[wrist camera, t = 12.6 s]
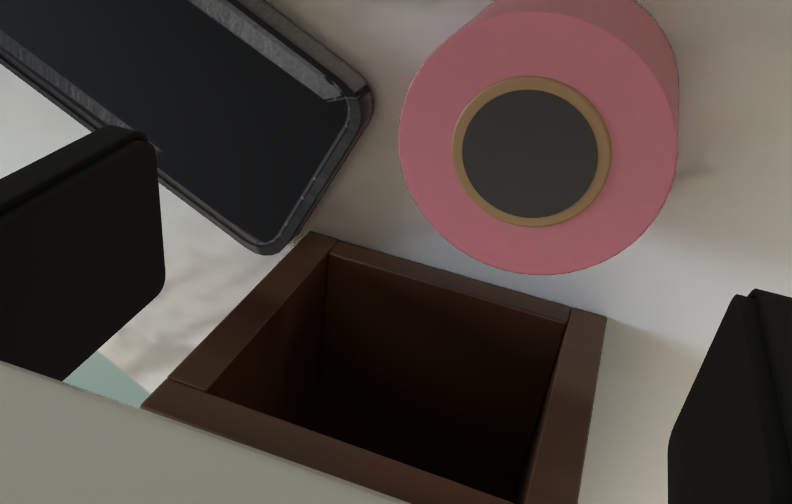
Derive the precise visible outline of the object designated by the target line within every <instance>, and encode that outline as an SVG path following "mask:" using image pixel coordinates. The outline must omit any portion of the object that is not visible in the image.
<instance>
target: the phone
mask: <svg viewBox="0 0 792 504" xmlns="http://www.w3.org/2000/svg"><path fill="white" fill-rule="evenodd" d="M0 64H2V65H3V66H4V67H6V68H7V69H8V70H10V71H11V72H12V73H14V74H15V75H16V76H18V77H19V78H20V79H22V80H23V81H24V82H26V83H27V84H28V85H30V86H31V87H32V88H34V89H35V90H36V91H38V92H39V93H40V94H42V95H43V96H44V97H46V98H47V99H48V100H50V101H51V102H52V103H54V104H55V105H56V106H58V107H59V108H60V109H62V110H63V111H64V112H66V113H67V114H68V115H70V116H71V117H72V118H74V119H75V120H76V121H78V122H79V123H80V124H82V125H83V126H84V127H86V128H87V129H88V130H90V131H91V132H94V131H96V130H98V129H100V128H102V127H104V126H107V125H115V126H119V127H123V128H127V129H131V130H135V131H139V132H142V133H143V134H145V135H146V137H147V139H148V141H149V143H151V144H152V145H153V146H154V148H155V151H156V159H157V172H158V182H159V183H160V184H162V185H163V186H164V187H166V188H167V189H168V190H170V191H171V192H172V193H174V194H175V195H176V196H178V197H179V198H180V199H182V200H183V201H184V202H186V203H187V204H188V205H190V206H191V207H192V208H194V209H195V210H196V211H198V212H199V213H200V214H202V215H203V216H204V217H206V218H207V219H208V220H210V221H211V222H212V223H214V224H215V225H216V226H218V227H219V228H220V229H222V230H223V231H224V232H226V233H227V234H228V235H230V236H231V237H232V238H234V239H235V240H236V241H238V242H239V243H240V244H242V245H243V246H244V247H246V248H247V249H249V250H250V251H252V252H254V253H256V254H260V255H274V254H276V253H279V252H280V251H281V250H282V249H283V248H284V247H285V246H286V245H287V244H288V243H289V242H290V241H291V240H292V239H293V238H294V237H295V236H296V235H297V234H298V233H299V232H300V230H301V228H302V227H303V225H304V224H305V222H306V221H307V219H308V217H309V216H310V214H311V213H312V211H313V210H314V208H315V206H316V205H317V203H318V202H319V200H320V199H321V197H322V195H323V194H324V192H325V191H326V189H327V188H328V186H329V184H330V183H331V181H332V180H333V178H334V177H335V175H336V173H337V172H338V170H339V169H340V167H341V166H342V164H343V162H344V161H345V159H346V158H347V156H348V155H349V153H350V151H351V150H352V148H353V147H354V145H355V144H356V142H357V140H358V139H359V137H360V136H361V134H362V133H363V131H364V129H365V128H366V126H367V125H368V123H369V121H370V119H371V116H372V114H373V104H374V102H373V97H372V93H371V90H370V88H369V86H368V85H367V83H366V81H365V80H364V79H363V78H362V77H361V76H360V75H359V74H358V73H357V72H356V71H355V70H353V69H352V68H351V67H349V66H348V65H347V64H345V63H344V62H343V61H341V60H340V59H339V58H337V57H336V56H335V55H334V54H332V53H331V52H330V51H328V50H327V49H326V48H324V47H323V46H322V45H320V44H319V43H318V42H316V41H315V40H314V39H312V38H311V37H310V36H309V35H307V34H306V33H305V32H303V31H302V30H301V29H299V28H298V27H297V26H295V25H294V24H293V23H291V22H290V21H289V20H287V19H286V18H285V17H283V16H282V15H281V14H280V13H278V12H277V11H276V10H274V9H273V8H272V7H270V6H269V5H268V4H266V3H265V2H264V1H262V0H0Z"/></svg>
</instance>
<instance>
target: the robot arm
mask: <svg viewBox="0 0 792 504" xmlns="http://www.w3.org/2000/svg"><path fill="white" fill-rule="evenodd" d="M164 282H165V262H164V249H163V236H162V223H161V210H160V198H159V185H158V172H157V159H156V151H155V148H154V146H153V145H152V144H151V143H149V141H148V139H147V137H146V135H145V134H143V133H142V132H139V131H135V130H131V129H127V128H123V127H119V126H115V125H107V126H104V127H102V128H100V129H98V130H96V131H94V132H92V133H90V134H88V135H86V136H84V137H82V138H80V139H78V140H76V141H74V142H72V143H71V144H69V145H67V146H65V147H63V148H61V149H59V150H57V151H55V152H53V153H51V154H49V155H47V156H45V157H43V158H41V159H39V160H37V161H35V162H33V163H31V164H29V165H27V166H25V167H23V168H21V169H19V170H18V171H16V172H14V173H12V174H10V175H8V176H6V177H4V178H2V179H0V504H411V503H408V502H405V501H402V500H400V499H397V498H394V497H391V496H388V495H385V494H383V493H380V492H377V491H374V490H371V489H369V488H366V487H363V486H360V485H357V484H354V483H352V482H349V481H346V480H343V479H340V478H338V477H335V476H332V475H329V474H326V473H323V472H321V471H318V470H315V469H312V468H309V467H307V466H304V465H301V464H298V463H295V462H292V461H289V460H286V459H284V458H281V457H278V456H275V455H272V454H269V453H266V452H264V451H261V450H258V449H255V448H252V447H249V446H246V445H244V444H241V443H238V442H235V441H232V440H229V439H226V438H224V437H221V436H218V435H215V434H212V433H209V432H206V431H204V430H201V429H198V428H195V427H192V426H189V425H186V424H183V423H180V422H178V421H175V420H172V419H169V418H166V417H163V416H160V415H157V414H155V413H152V412H149V411H146V410H143V409H140V408H137V407H134V406H132V405H129V404H126V403H123V402H120V401H117V400H114V399H111V398H108V397H106V396H103V395H100V394H97V393H94V392H91V391H88V390H85V389H82V388H79V387H76V386H73V385H70V384H67V383H65V382H62V381H63V380H64V379H65V378H66V377H68V375H70V374H71V373H72V372H73V371H74V370H75V369H76V368H77V367H79V366H80V365H81V364H82V363H83V362H84V361H85V360H86V359H88V358H89V357H90V356H91V355H92V354H93V353H94V352H95V351H96V350H98V349H99V348H100V347H101V346H102V345H103V344H104V343H105V342H106V341H108V340H109V339H110V338H111V337H112V336H113V335H114V334H115V333H116V332H118V331H119V330H120V329H121V328H122V327H123V326H124V325H125V324H126V323H128V322H129V321H130V320H131V319H132V318H133V317H134V316H135V315H136V314H138V313H139V312H140V311H141V310H142V309H143V308H144V307H145V306H146V305H148V304H149V303H150V302H151V301H152V300H153V299H154V298H155V297H156V296H157V295H158V294H159V293H160V292H161V290H162V288H163V285H164ZM668 504H792V298H791V297H787V296H783V295H779V294H775V293H771V292H767V291H763V290H759V289H754V290H752V291H751V292H750V294H749V295H748V297H746V296H742V295H738V294H737V295H735V296H734V297H733V299H732V300H731V302H730V304H729V306H728V309H727V311H726V313H725V315H724V317H723V320H722V322H721V324H720V326H719V328H718V331H717V333H716V335H715V337H714V339H713V342H712V344H711V346H710V348H709V350H708V352H707V355H706V357H705V359H704V361H703V363H702V366H701V368H700V370H699V372H698V374H697V377H696V379H695V381H694V383H693V385H692V388H691V390H690V392H689V394H688V396H687V398H686V401H685V403H684V405H683V407H682V409H681V412H680V414H679V416H678V418H677V420H676V423H675V425H674V427H673V430H672V432H671V436H670V440H669V445H668Z"/></svg>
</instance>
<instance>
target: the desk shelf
mask: <svg viewBox="0 0 792 504" xmlns="http://www.w3.org/2000/svg"><path fill="white" fill-rule="evenodd" d="M606 321H607V318H606V317H603V316H599V315H596V314H593V313H589V312H586V311H582V310H579V309H575V308H572V309H570V308H569V307H567V306H563V305H560V304H556V303H553V302H549V301H546V300H542V299H539V298H536V297H532V296H529V295H525V294H522V293H518V292H515V291H511V290H508V289H504V288H501V287H497V286H494V285H491V284H487V283H484V282H480V281H477V280H473V279H470V278H466V277H463V276H459V275H456V274H453V273H449V272H446V271H442V270H439V269H435V268H432V267H428V266H425V265H421V264H418V263H414V262H411V261H408V260H404V259H401V258H397V257H394V256H390V255H387V254H383V253H380V252H376V251H373V250H369V249H366V248H363V247H359V246H356V245H352V244H349V243H345V242H342V241H339V242H338V240H336V239H333V238H329V237H326V236H322V235H319V234H315V233H312V232H309V233H308V234H307V235H306V236H305V237H304V238H303V239H302V240H301V241H300V242H299V243H298V244H297V245H296V246H295V247H294V248H293V249H292V250H291V251H290V252H289V253H288V254H287V255H286V256H285V257H284V258H283V259H282V260H281V261H280V262H279V263H278V264H277V265H276V266H275V267H274V268H273V270H272V271H271V272H270V273H269V274H268V275H267V276H266V277H265V278H264V279H263V280H262V281H261V282H260V283H259V284H258V285H257V286H256V287H255V288H254V289H253V290H252V291H251V292H250V293H249V294H248V295H247V296H246V297H245V298H244V299H243V300H242V301H241V302H240V303H239V304H238V305H237V306H236V307H235V308H234V309H233V310H232V311H231V312H230V313H229V314H228V315H227V316H226V318H225V319H224V320H223V321H222V322H221V323H220V324H219V325H218V326H217V327H216V328H215V329H214V330H213V331H212V332H211V333H210V334H209V335H208V336H207V337H206V338H205V339H204V340H203V341H202V342H201V343H200V344H199V345H198V346H197V347H196V348H195V349H194V350H193V351H192V352H191V353H190V354H189V355H188V356H187V357H186V358H185V359H184V360H183V361H182V362H181V363H180V364H179V366H178V367H177V368H176V369H175V370H174V371H173V372H172V373H171V374H170V375H169V376H168V378H167V379H166V380H165V381H164V382H163V383H162V384H161V385H160V386H159V387H158V388H157V389H156V390H155V391H154V392H153V393H152V394H151V395H150V396H149V397H148V398H147V399H146V400H145V401H144V402H143V403H142V404H141V406H140V409H143V410H146V411H149V412H152V413H155V414H157V415H160V416H163V417H166V418H169V419H172V420H175V421H178V422H180V423H183V424H186V425H189V426H192V427H195V428H198V429H201V430H204V431H206V432H209V433H212V434H215V435H218V436H221V437H224V438H226V439H229V440H232V441H235V442H238V443H241V444H244V445H246V446H249V447H252V448H255V449H258V450H261V451H264V452H266V453H269V454H272V455H275V456H278V457H281V458H284V459H286V460H289V461H292V462H295V463H298V464H301V465H304V466H307V467H309V468H312V469H315V470H318V471H321V472H323V473H326V474H329V475H332V476H335V477H338V478H340V479H343V480H346V481H349V482H352V483H354V484H357V485H360V486H363V487H366V488H369V489H371V490H374V491H377V492H380V493H383V494H385V495H388V496H391V497H394V498H397V499H400V500H402V501H405V502H408V503H411V504H578V497H579V491H580V485H581V478H582V472H583V466H584V460H585V453H586V447H587V441H588V434H589V428H590V422H591V416H592V409H593V403H594V397H595V390H596V384H597V378H598V372H599V365H600V359H601V353H602V347H603V340H604V334H605V328H606Z"/></svg>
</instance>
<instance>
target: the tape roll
mask: <svg viewBox="0 0 792 504" xmlns="http://www.w3.org/2000/svg"><path fill="white" fill-rule="evenodd" d="M678 112H679V84H678V73H677V67H676V62H675V59H674V56H673V52H672V49H671V47H670V45H669V43H668V41H667V39H666V37H665V35H664V33H663V31H662V30H661V28H660V27H659V26H658V24H657V23H656V21H655V20H654V19H653V18H652V17H651V16H650V15H649V13H648V12H647V11H646V10H645V9H644V8H643V7H641V6H640V5H639V4H638V3H636V2H635V1H634V0H496V1H495V2H493V3H492V4H491V5H490V6H488V7H487V8H486V9H485V10H483V11H482V12H481V13H480V14H478V15H477V16H476V17H475V18H473V19H472V20H471V21H470V22H468V23H467V24H466V25H465V26H463V27H462V28H461V29H460V30H458V31H457V32H456V33H455V34H453V35H452V36H451V37H450V38H448V39H447V40H446V41H445V42H444V43H442V44H441V45H440V46H439V47H438V48H437V49H436V50H435V51H434V52H433V53H432V54H431V55H430V56H429V57H428V58H427V60H426V61H425V62H424V63H423V65H422V66H421V68H420V69H419V71H418V72H417V74H416V75H415V77H414V79H413V81H412V83H411V85H410V87H409V89H408V91H407V94H406V97H405V100H404V103H403V106H402V111H401V116H400V121H399V133H398V144H399V156H400V161H401V166H402V171H403V174H404V177H405V180H406V183H407V186H408V189H409V191H410V193H411V195H412V197H413V199H414V201H415V203H416V204H417V206H418V207H419V209H420V211H421V212H422V214H423V215H424V216H425V218H426V219H427V220H428V221H429V223H430V224H431V225H432V226H433V228H434V229H435V230H437V231H438V232H439V233H440V234H441V235H442V236H443V237H444V238H445V239H446V240H447V241H448V242H450V243H451V244H452V245H454V246H455V247H456V248H457V249H459V250H461V251H462V252H464V253H465V254H467V255H469V256H470V257H472V258H474V259H476V260H478V261H481V262H483V263H485V264H487V265H490V266H493V267H496V268H499V269H502V270H506V271H511V272H515V273H521V274H530V275H555V274H563V273H570V272H574V271H578V270H582V269H586V268H588V267H591V266H594V265H597V264H599V263H601V262H603V261H605V260H607V259H609V258H611V257H613V256H615V255H617V254H618V253H620V252H621V251H622V250H624V249H625V248H627V247H628V246H630V245H631V244H632V243H633V242H634V241H635V240H636V239H638V238H639V237H640V236H641V235H642V234H643V233H644V232H645V231H646V229H647V228H648V227H649V226H650V225H651V223H652V222H653V221H654V220H655V218H656V217H657V215H658V213H659V212H660V210H661V209H662V207H663V206H664V203H665V201H666V199H667V197H668V194H669V192H670V190H671V187H672V183H673V180H674V176H675V173H676V166H677V158H678Z"/></svg>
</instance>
